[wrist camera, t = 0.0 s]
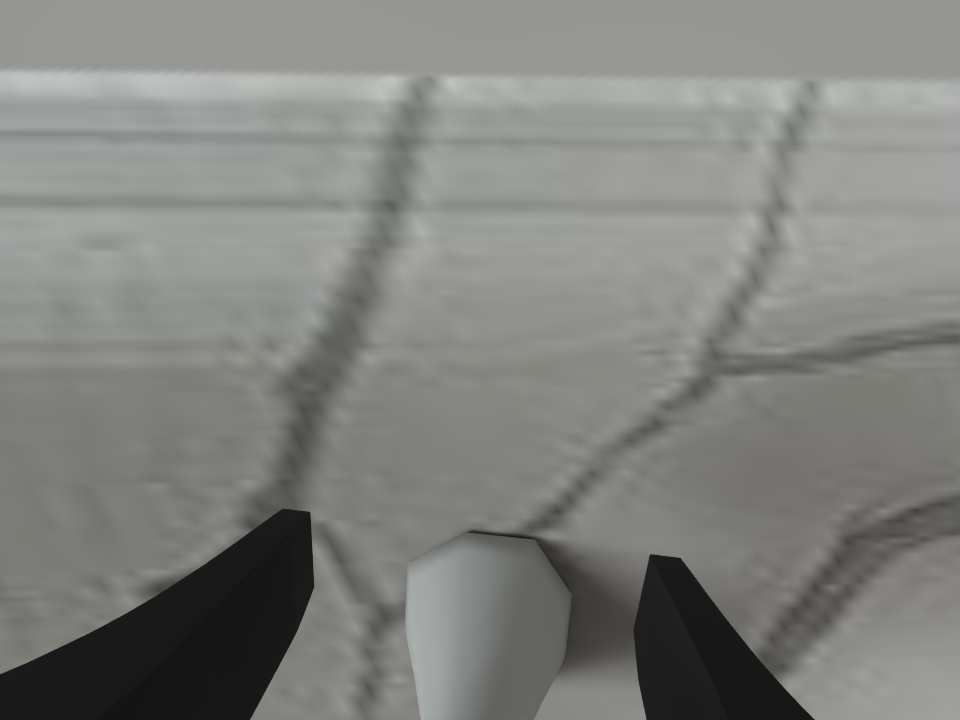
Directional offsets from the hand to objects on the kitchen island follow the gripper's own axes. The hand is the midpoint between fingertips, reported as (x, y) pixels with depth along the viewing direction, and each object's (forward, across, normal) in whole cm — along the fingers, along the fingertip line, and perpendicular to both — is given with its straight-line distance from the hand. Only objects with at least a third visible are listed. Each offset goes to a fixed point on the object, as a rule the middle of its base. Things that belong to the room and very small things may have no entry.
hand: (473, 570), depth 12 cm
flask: (+9, 0, +10) cm, 14 cm away
